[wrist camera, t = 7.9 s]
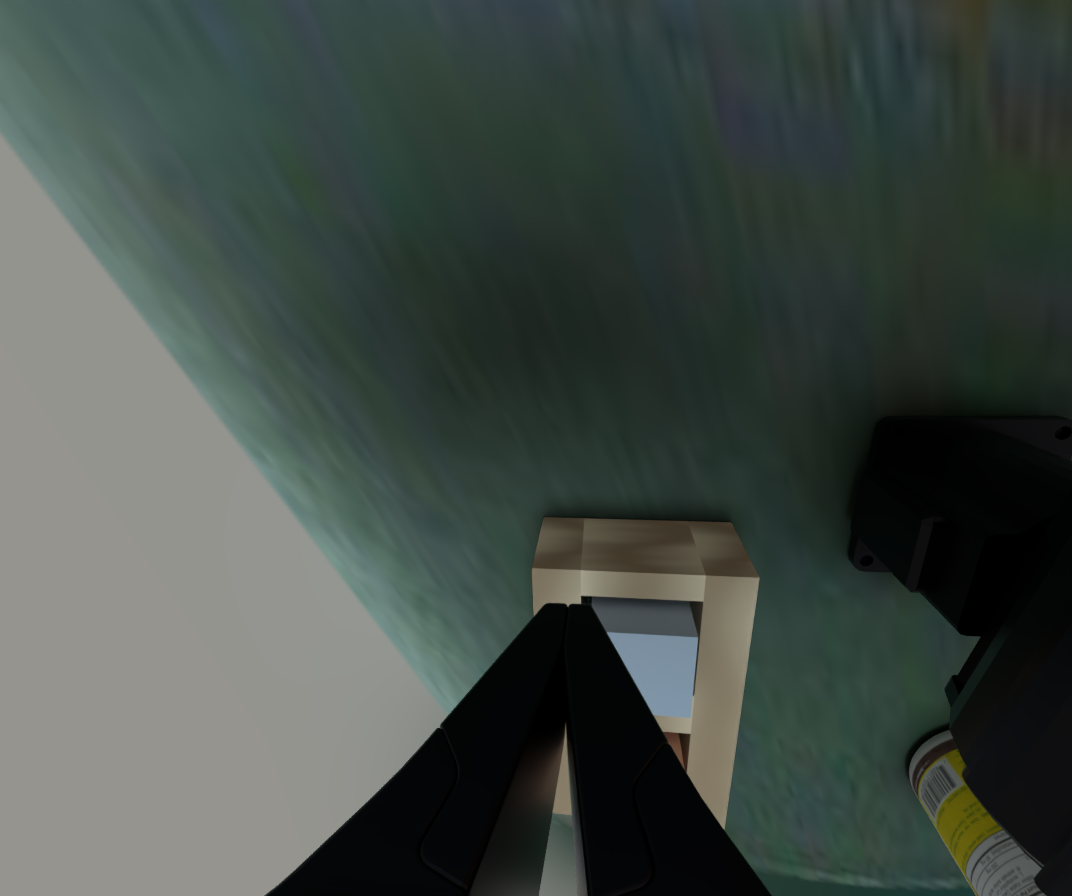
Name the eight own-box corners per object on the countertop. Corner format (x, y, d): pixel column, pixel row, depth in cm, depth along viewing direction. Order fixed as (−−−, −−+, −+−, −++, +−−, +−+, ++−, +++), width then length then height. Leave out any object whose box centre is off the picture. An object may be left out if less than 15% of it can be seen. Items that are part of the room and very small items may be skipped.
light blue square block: (685, 587, 19) (698, 637, 17) (679, 660, 21) (690, 717, 18) (592, 583, 20) (590, 631, 17) (591, 655, 21) (590, 710, 18)
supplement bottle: (1046, 787, 24) (1346, 1139, 14) (921, 813, 25) (1116, 1147, 16) (1018, 703, 22) (1330, 1031, 13) (887, 736, 24) (1079, 1050, 14)
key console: (731, 522, 21) (759, 577, 17) (706, 748, 25) (724, 831, 22) (543, 517, 22) (531, 568, 18) (550, 734, 26) (542, 811, 23)
